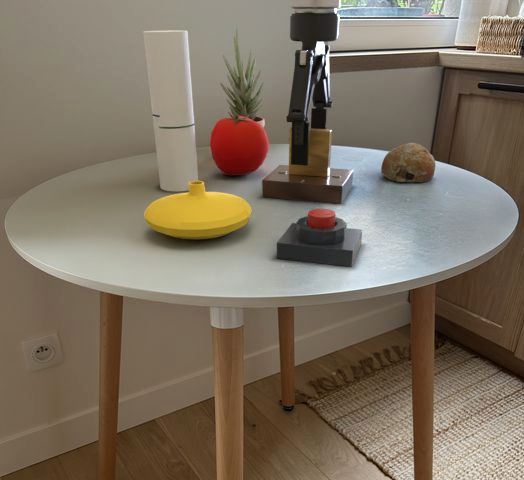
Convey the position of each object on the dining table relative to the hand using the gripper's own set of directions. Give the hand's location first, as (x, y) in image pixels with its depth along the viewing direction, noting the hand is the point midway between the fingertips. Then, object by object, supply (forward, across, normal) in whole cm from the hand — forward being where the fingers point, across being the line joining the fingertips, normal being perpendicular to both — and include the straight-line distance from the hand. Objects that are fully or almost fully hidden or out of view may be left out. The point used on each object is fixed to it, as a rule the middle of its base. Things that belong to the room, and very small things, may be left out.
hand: (309, 155), depth 94 cm
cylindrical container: (+7, +3, -24) cm, 25 cm away
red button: (+3, +27, +8) cm, 28 cm away
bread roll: (+6, -15, +16) cm, 23 cm away
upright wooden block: (+3, 0, 0) cm, 3 cm away
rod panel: (+6, 0, 0) cm, 6 cm away
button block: (+6, +27, +8) cm, 29 cm away
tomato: (+7, -8, -16) cm, 19 cm away
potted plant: (+7, -25, -21) cm, 33 cm away
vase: (+7, +24, -11) cm, 27 cm away
